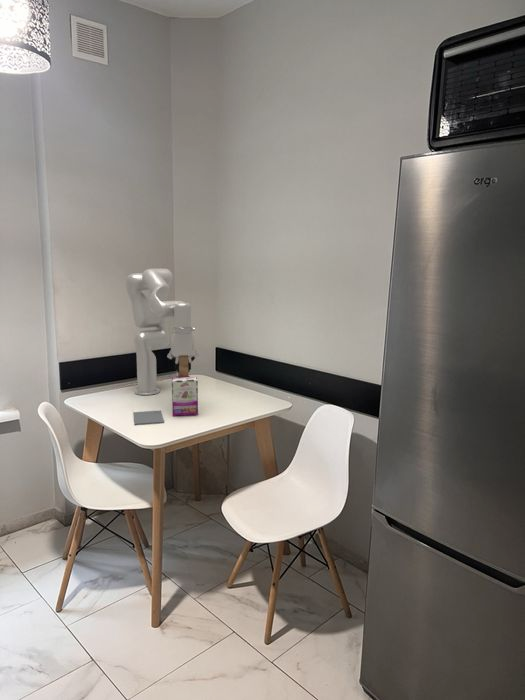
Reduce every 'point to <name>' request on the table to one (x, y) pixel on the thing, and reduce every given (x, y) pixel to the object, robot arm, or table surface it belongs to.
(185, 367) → the stepped wooden block
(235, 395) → the table surface
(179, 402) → the candy bar box
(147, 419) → the mat
